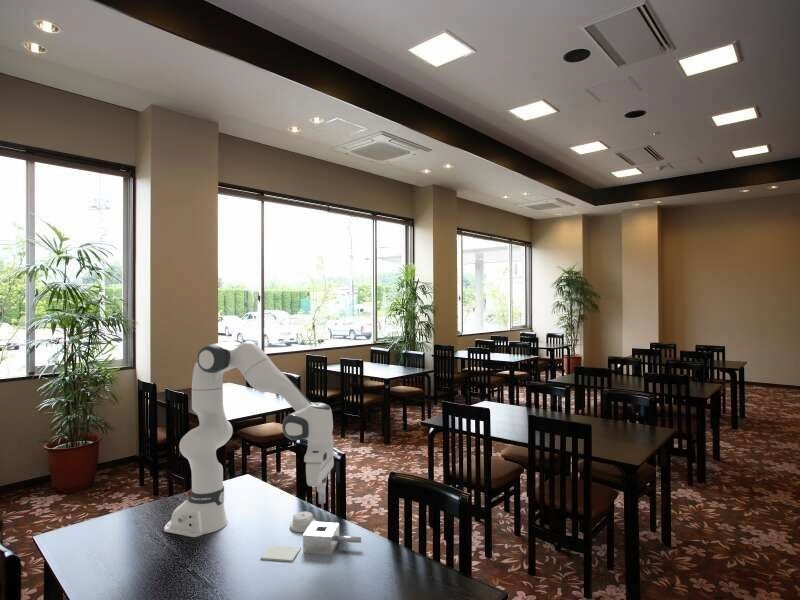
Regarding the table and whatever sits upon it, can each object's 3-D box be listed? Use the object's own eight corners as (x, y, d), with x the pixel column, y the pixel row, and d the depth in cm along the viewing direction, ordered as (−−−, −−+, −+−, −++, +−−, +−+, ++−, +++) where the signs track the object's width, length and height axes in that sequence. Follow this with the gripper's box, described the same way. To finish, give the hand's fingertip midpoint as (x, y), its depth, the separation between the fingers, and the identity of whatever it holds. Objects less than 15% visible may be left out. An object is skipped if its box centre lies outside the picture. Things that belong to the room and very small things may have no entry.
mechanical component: (312, 533, 174) (319, 521, 184) (312, 521, 174) (319, 509, 184) (286, 532, 175) (294, 520, 185) (286, 520, 175) (294, 508, 185)
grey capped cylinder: (316, 504, 163) (315, 478, 163) (319, 500, 167) (318, 475, 167) (325, 504, 163) (324, 478, 163) (327, 500, 166) (327, 475, 166)
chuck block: (303, 552, 161) (303, 534, 161) (312, 537, 170) (312, 521, 170) (357, 556, 158) (357, 538, 158) (363, 541, 168) (363, 524, 168)
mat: (260, 559, 156) (260, 557, 156) (270, 547, 164) (270, 545, 164) (292, 561, 155) (292, 560, 155) (300, 549, 163) (300, 547, 163)
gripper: (321, 440, 176) (321, 478, 176) (302, 459, 155) (303, 501, 155) (337, 441, 175) (338, 478, 175) (320, 459, 155) (321, 501, 154)
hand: (321, 489), depth 165 cm, fingers closed on grey capped cylinder, 2 cm apart
